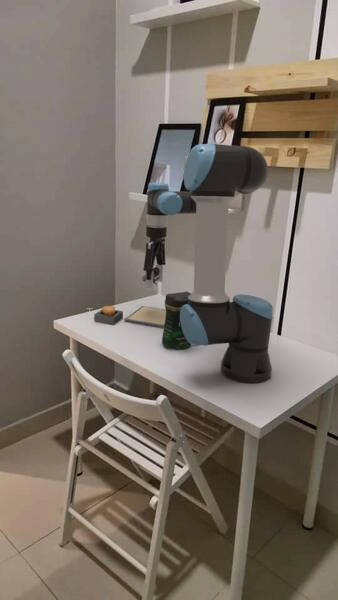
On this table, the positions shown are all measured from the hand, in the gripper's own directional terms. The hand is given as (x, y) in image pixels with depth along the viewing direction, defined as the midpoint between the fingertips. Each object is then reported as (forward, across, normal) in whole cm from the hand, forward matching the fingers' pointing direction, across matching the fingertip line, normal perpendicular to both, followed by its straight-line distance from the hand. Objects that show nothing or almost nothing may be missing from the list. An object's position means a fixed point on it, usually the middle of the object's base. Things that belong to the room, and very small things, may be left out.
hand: (154, 284), depth 180 cm
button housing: (+13, +10, -14) cm, 22 cm away
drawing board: (+13, 0, 0) cm, 13 cm away
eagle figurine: (0, 0, -1) cm, 1 cm away
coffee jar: (+14, +22, +17) cm, 31 cm away
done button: (+11, +10, -14) cm, 20 cm away
